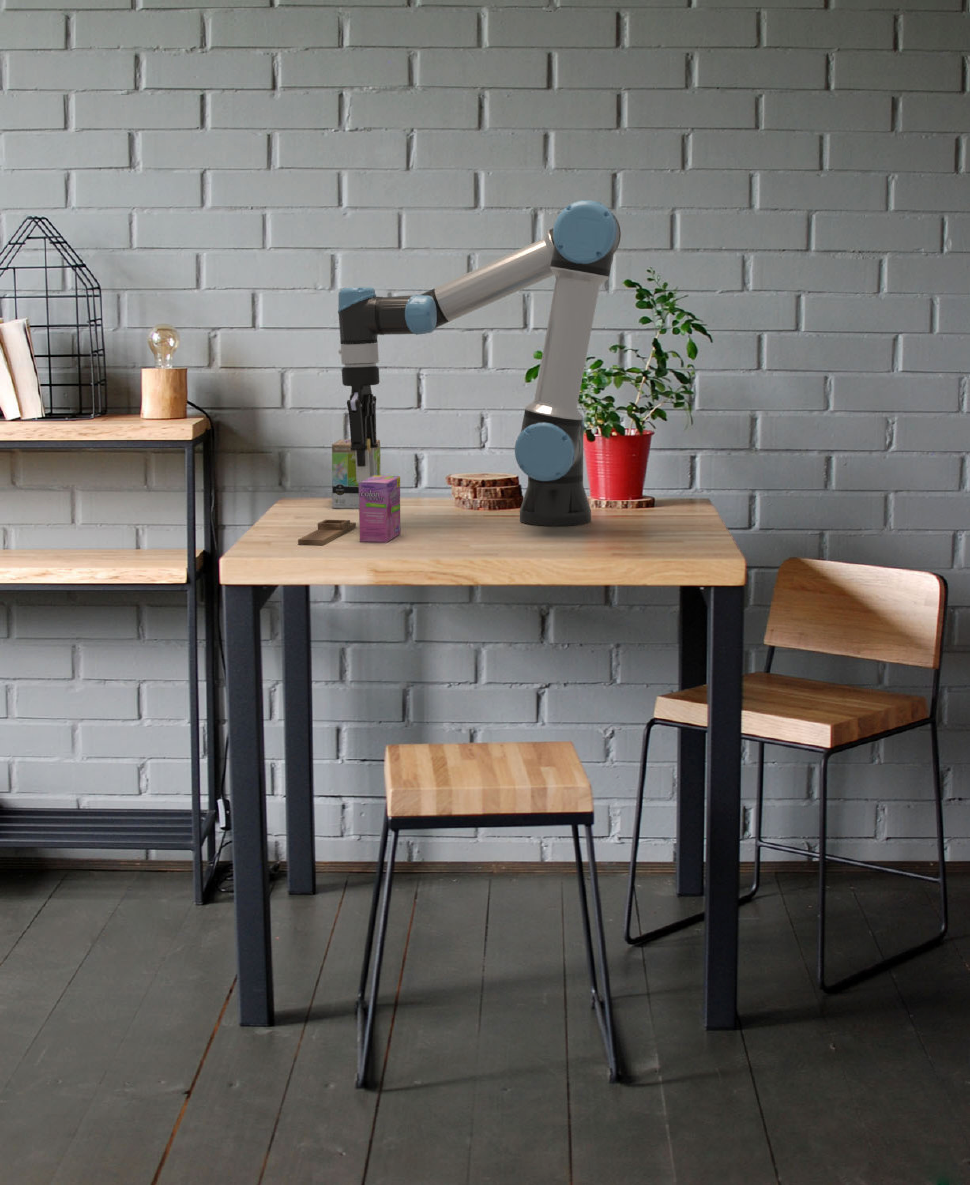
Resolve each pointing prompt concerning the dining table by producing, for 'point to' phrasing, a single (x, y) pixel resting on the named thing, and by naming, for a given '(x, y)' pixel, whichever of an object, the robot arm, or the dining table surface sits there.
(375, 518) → the box
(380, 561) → the dining table surface
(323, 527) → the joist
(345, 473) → the tea box
